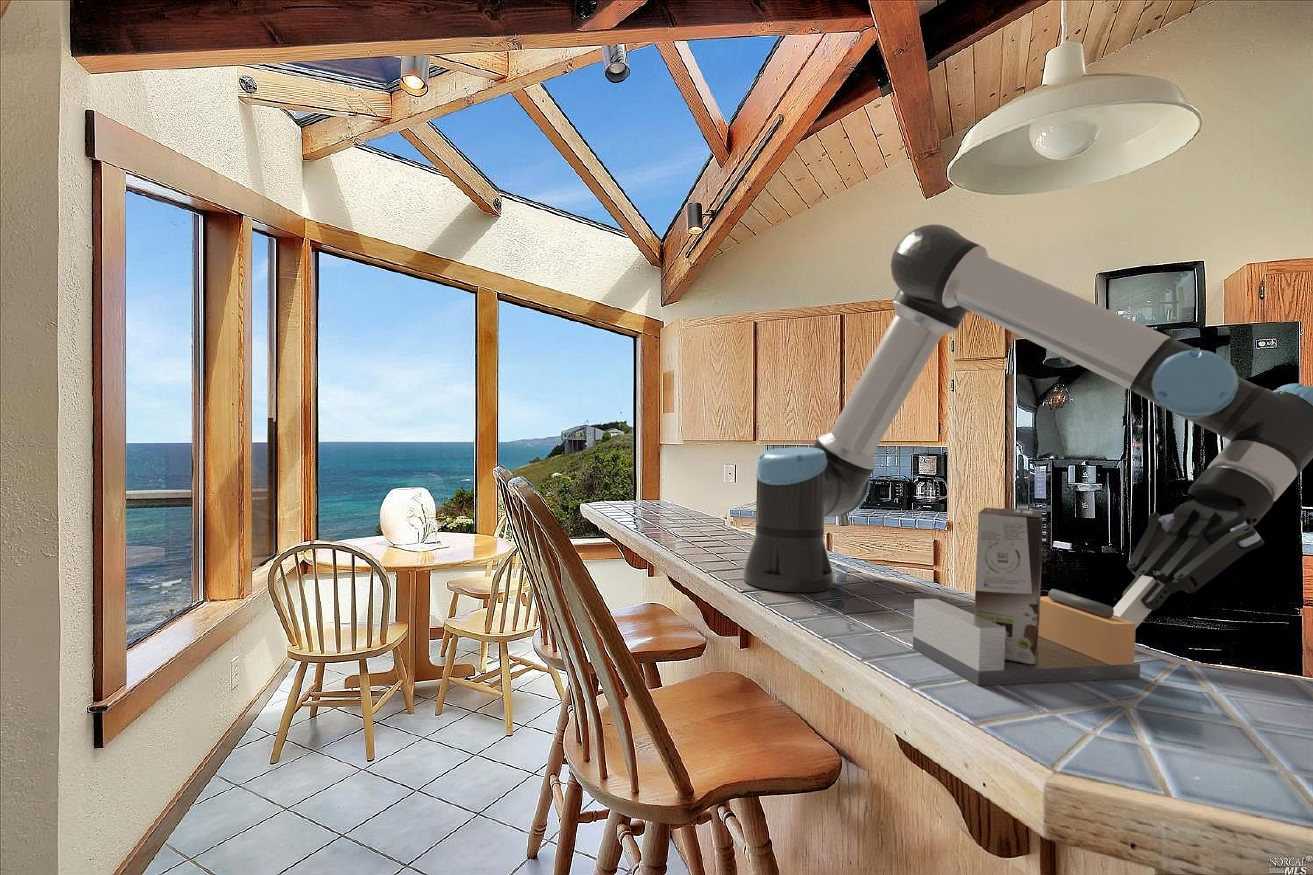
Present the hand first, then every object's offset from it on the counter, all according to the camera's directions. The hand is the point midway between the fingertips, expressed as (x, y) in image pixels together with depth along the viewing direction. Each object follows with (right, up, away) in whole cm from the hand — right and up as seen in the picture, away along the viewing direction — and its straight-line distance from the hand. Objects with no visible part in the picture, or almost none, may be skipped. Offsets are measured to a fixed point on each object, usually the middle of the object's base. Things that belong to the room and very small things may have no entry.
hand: (1120, 622), depth 79 cm
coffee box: (-15, -3, -3) cm, 16 cm away
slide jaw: (-6, -3, -1) cm, 6 cm away
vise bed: (-13, -4, -2) cm, 14 cm away
